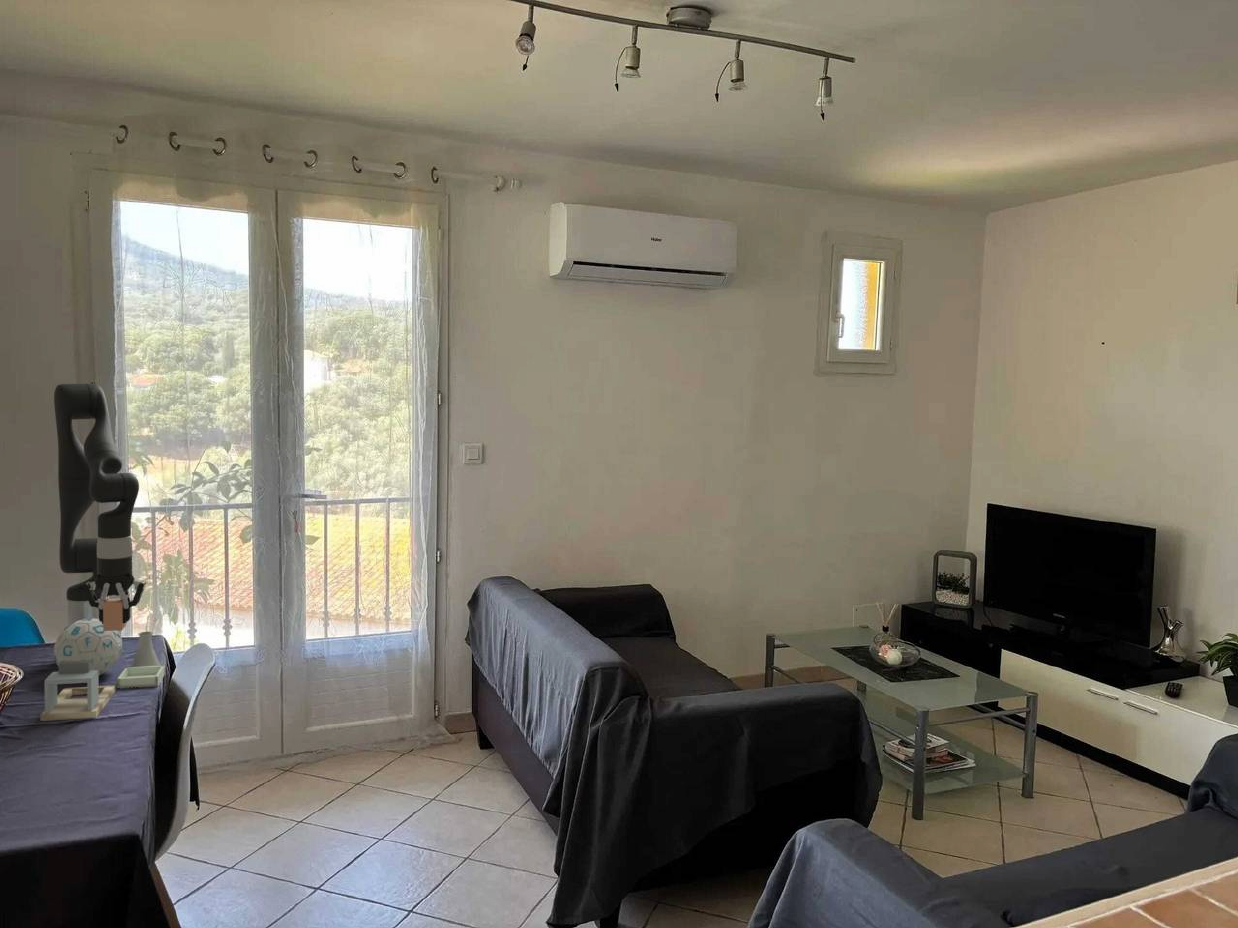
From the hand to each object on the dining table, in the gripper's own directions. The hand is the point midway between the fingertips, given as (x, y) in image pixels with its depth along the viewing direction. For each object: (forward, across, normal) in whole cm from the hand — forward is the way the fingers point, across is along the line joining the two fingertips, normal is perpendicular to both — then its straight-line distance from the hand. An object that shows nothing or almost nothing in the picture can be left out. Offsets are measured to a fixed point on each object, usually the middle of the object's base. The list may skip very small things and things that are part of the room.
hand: (115, 622), depth 215 cm
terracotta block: (+2, 0, 0) cm, 2 cm away
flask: (+17, +4, +15) cm, 23 cm away
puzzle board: (+17, -5, -11) cm, 21 cm away
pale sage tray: (+17, +5, +5) cm, 18 cm away
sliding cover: (+15, -5, -17) cm, 23 cm away
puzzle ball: (+17, -9, +11) cm, 22 cm away
